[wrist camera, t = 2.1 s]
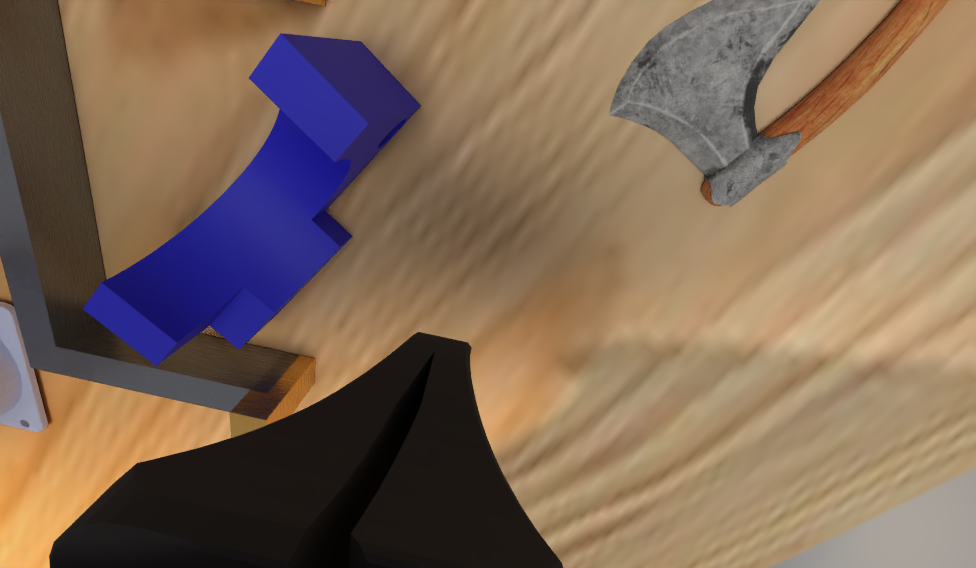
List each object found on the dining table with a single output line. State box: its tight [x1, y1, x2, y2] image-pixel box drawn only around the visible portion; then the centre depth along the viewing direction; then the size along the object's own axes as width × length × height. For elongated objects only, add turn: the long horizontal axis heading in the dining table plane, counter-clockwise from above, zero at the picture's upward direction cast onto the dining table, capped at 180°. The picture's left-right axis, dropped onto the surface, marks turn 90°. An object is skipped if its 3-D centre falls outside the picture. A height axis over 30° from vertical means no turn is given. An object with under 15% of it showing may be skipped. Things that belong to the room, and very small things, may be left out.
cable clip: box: [83, 34, 421, 366], centre depth 18 cm, size 12×4×6 cm, turn 134°
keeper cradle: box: [0, 0, 325, 438], centre depth 19 cm, size 12×18×4 cm, turn 170°
